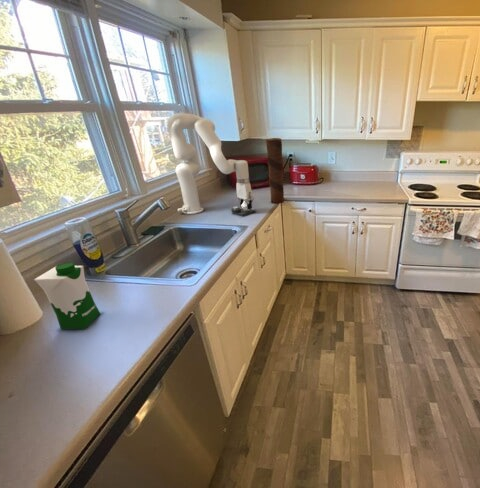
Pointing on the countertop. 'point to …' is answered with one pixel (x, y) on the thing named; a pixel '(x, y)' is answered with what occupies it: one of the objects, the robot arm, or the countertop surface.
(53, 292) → the milk carton
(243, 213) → the scale
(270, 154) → the wafer roll
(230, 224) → the countertop surface
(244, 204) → the white rounded lump
